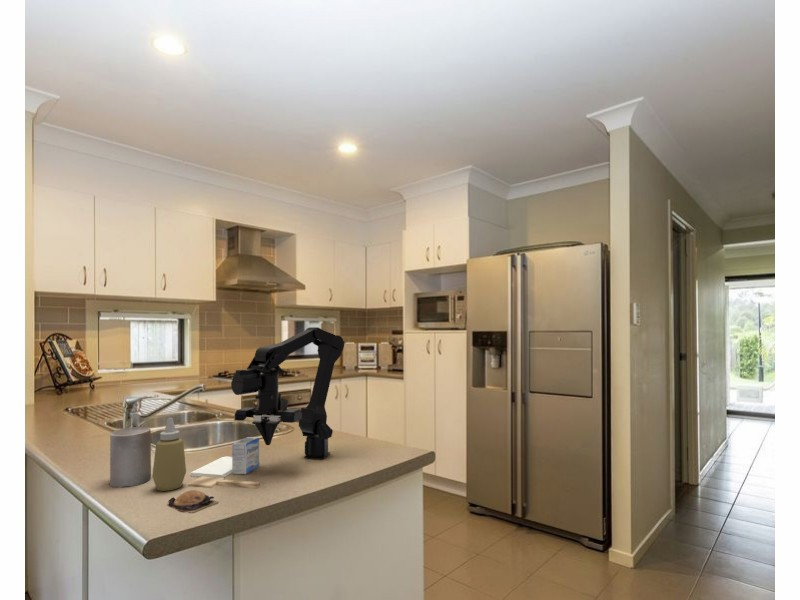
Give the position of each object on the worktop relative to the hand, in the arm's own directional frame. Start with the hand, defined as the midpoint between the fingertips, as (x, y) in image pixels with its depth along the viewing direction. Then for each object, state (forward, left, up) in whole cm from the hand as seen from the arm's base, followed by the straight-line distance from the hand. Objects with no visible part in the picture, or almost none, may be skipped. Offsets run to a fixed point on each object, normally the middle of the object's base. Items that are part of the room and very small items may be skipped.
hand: (268, 444), depth 136 cm
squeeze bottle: (+19, +17, -8) cm, 27 cm away
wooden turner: (+5, +12, -8) cm, 15 cm away
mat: (+15, 0, -8) cm, 16 cm away
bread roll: (+6, +26, -8) cm, 27 cm away
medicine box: (+7, 0, -8) cm, 11 cm away
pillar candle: (+33, +15, -8) cm, 37 cm away
